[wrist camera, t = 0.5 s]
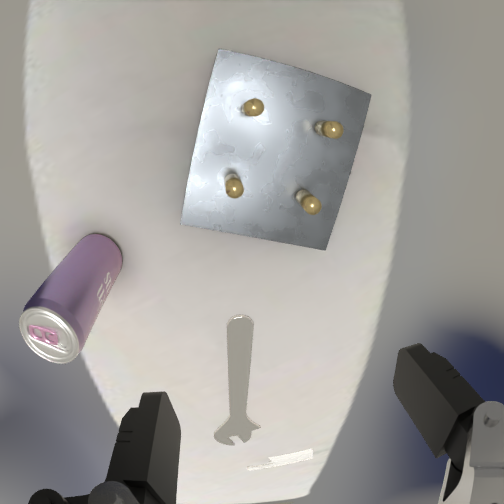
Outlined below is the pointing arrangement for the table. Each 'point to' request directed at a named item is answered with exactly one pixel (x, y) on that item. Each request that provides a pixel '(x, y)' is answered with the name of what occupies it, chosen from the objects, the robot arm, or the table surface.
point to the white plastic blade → (285, 459)
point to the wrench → (238, 380)
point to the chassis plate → (273, 151)
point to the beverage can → (71, 299)
